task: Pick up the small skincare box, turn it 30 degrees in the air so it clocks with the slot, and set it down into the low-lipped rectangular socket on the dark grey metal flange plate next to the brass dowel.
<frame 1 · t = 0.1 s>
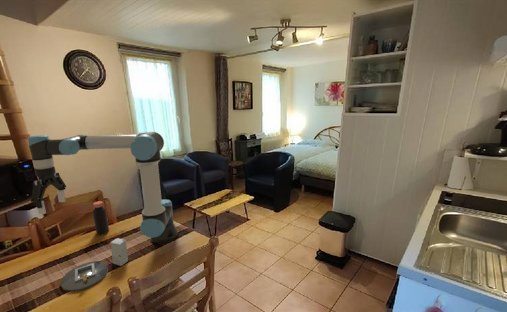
hand: (52, 207, 120), 28 cm above the table, fingers open, 13 cm apart
flange plate: (85, 276, 111), on the table
bottle: (102, 232, 149), on the table
skincare box: (121, 262, 121), on the table
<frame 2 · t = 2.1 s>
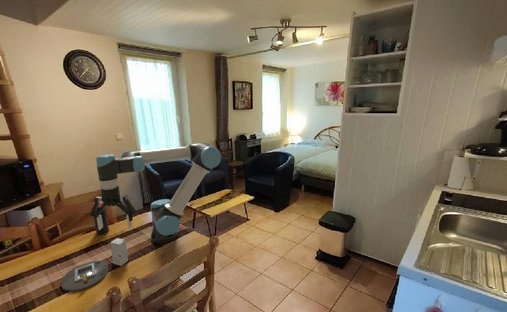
hand: (115, 227, 116), 20 cm above the table, fingers open, 13 cm apart
nothing on the table moved.
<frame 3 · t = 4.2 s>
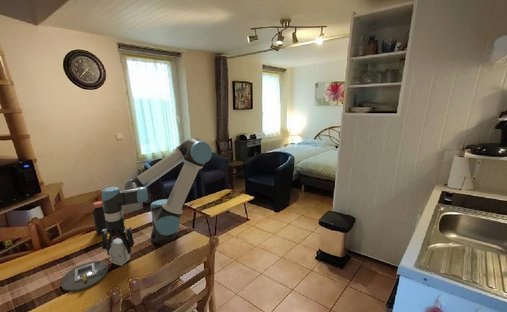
hand: (120, 259, 120), 2 cm above the table, fingers closed on skincare box, 7 cm apart
skincare box: (121, 262, 121), on the table, touching gripper
everything else where it was.
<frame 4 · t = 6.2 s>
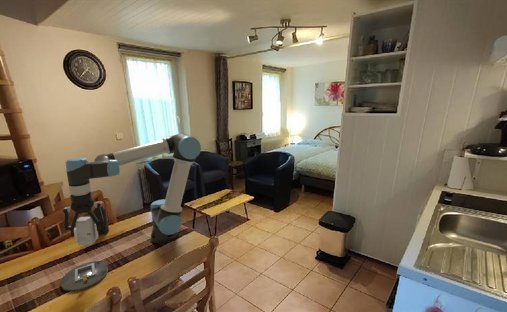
hand: (87, 239, 109), 18 cm above the table, fingers closed on skincare box, 7 cm apart
skincare box: (88, 243, 109), point 16 cm above the table, touching gripper
everything else where it was.
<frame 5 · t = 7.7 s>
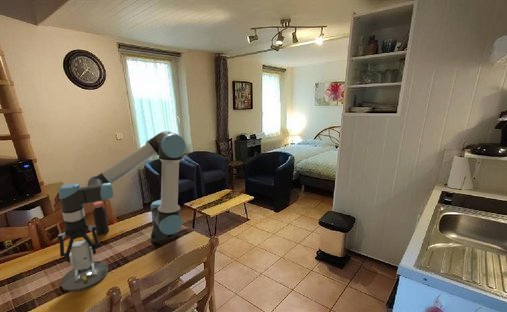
hand: (83, 263, 109), 7 cm above the table, fingers closed on skincare box, 7 cm apart
skincare box: (84, 266, 110), point 5 cm above the table, touching gripper
everything else where it was.
when the fingers open (5 cm above the table, at t = 8.6 s): skincare box stays where it is, resting on flange plate.
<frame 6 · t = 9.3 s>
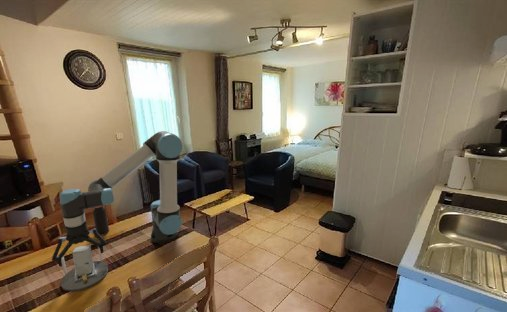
hand: (83, 265, 110), 6 cm above the table, fingers open, 13 cm apart
skincare box: (85, 271, 111), point 2 cm above the table, touching flange plate
everything else where it was.
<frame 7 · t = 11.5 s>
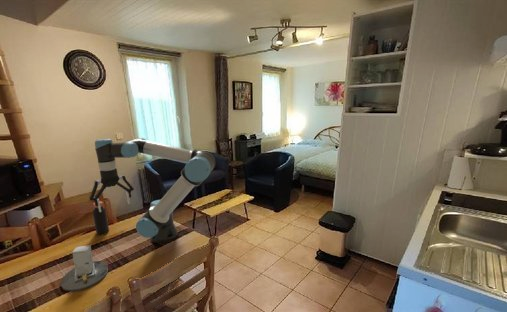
hand: (115, 207, 126), 25 cm above the table, fingers open, 13 cm apart
nothing on the table moved.
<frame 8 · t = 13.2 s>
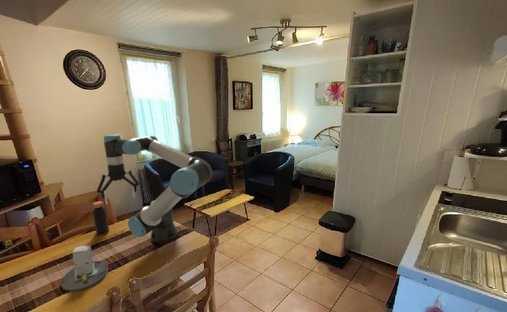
hand: (120, 200, 131), 27 cm above the table, fingers open, 13 cm apart
nothing on the table moved.
at the end: skincare box 0.2 cm off-centre on the flange plate, point 2.5 cm above the flange plate's base; skincare box tilted 0°; the gripper is holding nothing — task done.
